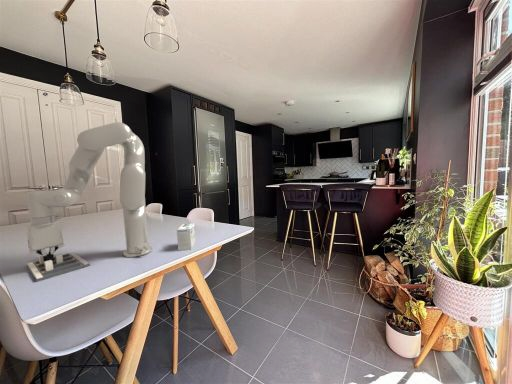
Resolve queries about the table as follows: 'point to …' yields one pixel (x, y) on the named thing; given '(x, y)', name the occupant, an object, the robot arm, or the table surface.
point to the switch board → (57, 267)
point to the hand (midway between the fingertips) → (49, 263)
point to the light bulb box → (186, 236)
